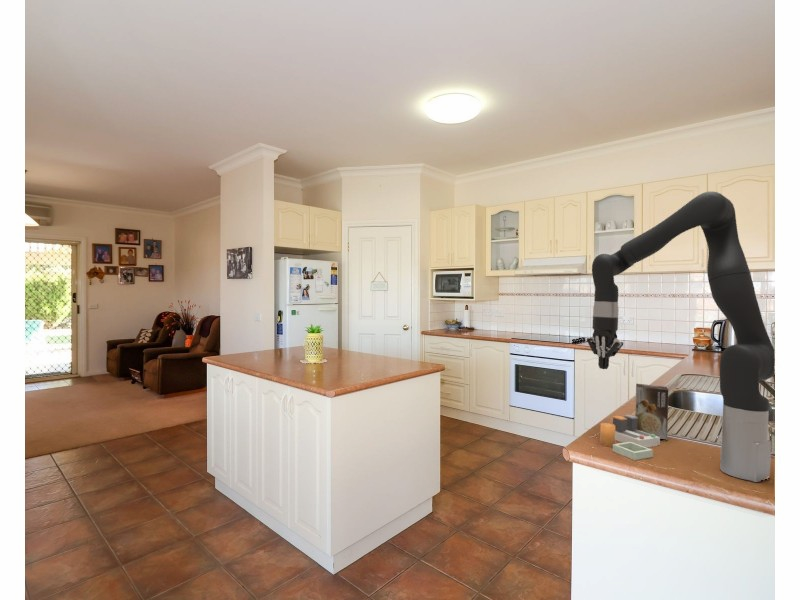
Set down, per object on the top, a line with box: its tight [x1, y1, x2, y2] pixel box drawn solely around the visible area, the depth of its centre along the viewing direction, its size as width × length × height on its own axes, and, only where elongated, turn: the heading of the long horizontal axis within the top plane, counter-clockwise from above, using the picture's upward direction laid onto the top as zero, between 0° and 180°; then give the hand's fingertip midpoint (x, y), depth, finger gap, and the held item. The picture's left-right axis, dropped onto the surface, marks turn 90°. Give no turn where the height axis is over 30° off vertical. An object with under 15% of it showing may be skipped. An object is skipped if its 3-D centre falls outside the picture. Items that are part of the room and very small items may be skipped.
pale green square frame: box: [612, 442, 654, 461], centre depth 126 cm, size 7×7×2 cm
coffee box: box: [634, 383, 669, 441], centre depth 144 cm, size 9×6×16 cm
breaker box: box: [615, 428, 661, 448], centre depth 138 cm, size 11×9×3 cm
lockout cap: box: [599, 422, 616, 448], centre depth 134 cm, size 4×4×6 cm
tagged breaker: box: [612, 415, 627, 432], centre depth 139 cm, size 3×2×4 cm
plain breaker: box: [623, 414, 638, 430], centre depth 141 cm, size 3×2×4 cm
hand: (603, 368), depth 145 cm, fingers closed
